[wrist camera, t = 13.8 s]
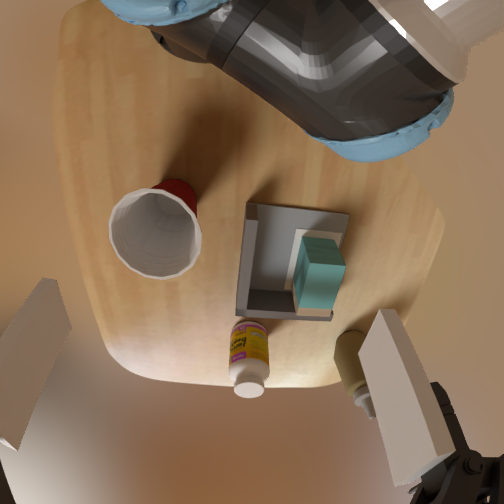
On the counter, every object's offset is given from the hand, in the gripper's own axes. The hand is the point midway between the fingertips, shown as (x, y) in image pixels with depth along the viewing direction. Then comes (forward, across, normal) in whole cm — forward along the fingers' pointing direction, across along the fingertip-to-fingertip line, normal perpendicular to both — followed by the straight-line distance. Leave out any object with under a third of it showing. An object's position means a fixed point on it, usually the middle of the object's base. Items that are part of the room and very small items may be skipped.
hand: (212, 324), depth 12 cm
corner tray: (+32, +10, -16) cm, 37 cm away
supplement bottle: (+32, +5, -33) cm, 46 cm away
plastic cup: (+32, -8, -8) cm, 34 cm away
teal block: (+31, +13, -17) cm, 38 cm away
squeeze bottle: (+32, +25, -34) cm, 53 cm away
